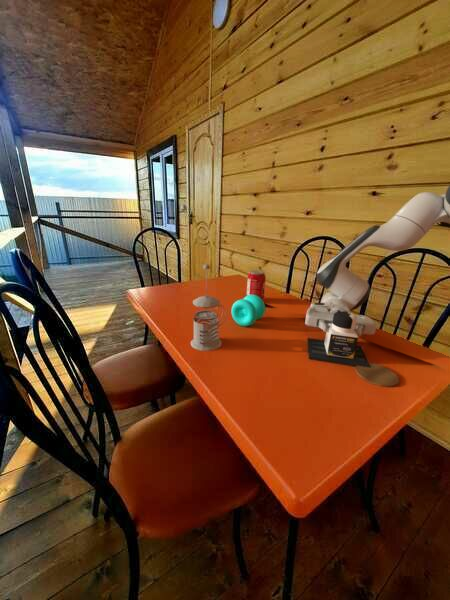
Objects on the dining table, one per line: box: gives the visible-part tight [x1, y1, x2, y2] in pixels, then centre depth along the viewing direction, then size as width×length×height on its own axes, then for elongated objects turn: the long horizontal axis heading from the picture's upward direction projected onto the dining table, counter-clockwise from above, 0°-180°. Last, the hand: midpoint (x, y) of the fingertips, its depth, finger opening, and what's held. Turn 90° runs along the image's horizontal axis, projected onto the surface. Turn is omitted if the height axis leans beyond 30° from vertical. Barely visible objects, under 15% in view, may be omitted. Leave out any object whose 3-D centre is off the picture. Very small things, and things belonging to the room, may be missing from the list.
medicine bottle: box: [324, 311, 359, 359], centre depth 74 cm, size 7×7×12 cm
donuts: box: [230, 295, 266, 327], centre depth 94 cm, size 10×10×10 cm
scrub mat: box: [307, 337, 371, 368], centre depth 76 cm, size 16×12×1 cm
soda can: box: [245, 269, 267, 303], centre depth 112 cm, size 8×8×15 cm
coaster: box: [354, 362, 400, 388], centre depth 67 cm, size 10×10×1 cm
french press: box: [190, 263, 227, 352], centre depth 76 cm, size 10×12×25 cm
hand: (342, 332), depth 73 cm, fingers closed on medicine bottle, 7 cm apart
